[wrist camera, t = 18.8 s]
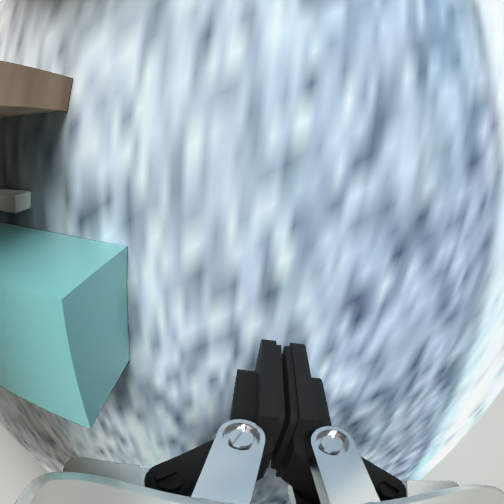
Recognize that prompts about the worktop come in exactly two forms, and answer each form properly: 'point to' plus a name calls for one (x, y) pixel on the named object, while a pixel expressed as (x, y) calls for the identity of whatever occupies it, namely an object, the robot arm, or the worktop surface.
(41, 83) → the overhang shelf
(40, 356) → the teal rectangular block
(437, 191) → the worktop surface
